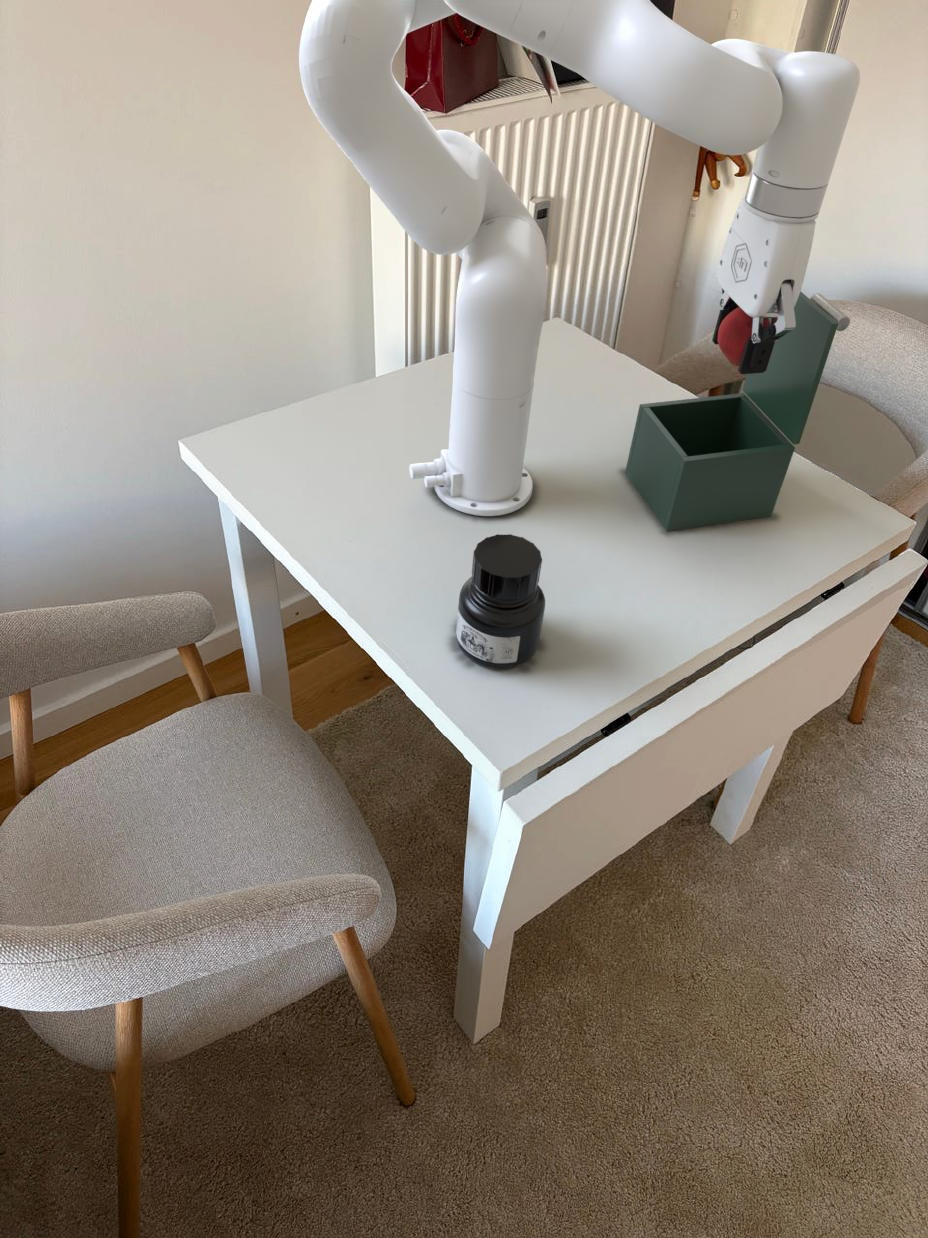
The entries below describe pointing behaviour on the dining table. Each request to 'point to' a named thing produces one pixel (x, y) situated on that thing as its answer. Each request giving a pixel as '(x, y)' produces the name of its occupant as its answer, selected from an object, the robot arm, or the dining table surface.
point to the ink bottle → (501, 603)
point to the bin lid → (797, 365)
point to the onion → (736, 334)
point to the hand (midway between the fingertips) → (738, 355)
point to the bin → (707, 461)
